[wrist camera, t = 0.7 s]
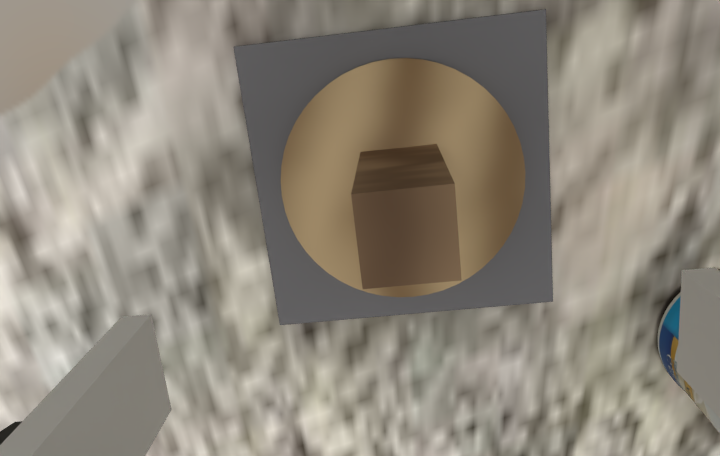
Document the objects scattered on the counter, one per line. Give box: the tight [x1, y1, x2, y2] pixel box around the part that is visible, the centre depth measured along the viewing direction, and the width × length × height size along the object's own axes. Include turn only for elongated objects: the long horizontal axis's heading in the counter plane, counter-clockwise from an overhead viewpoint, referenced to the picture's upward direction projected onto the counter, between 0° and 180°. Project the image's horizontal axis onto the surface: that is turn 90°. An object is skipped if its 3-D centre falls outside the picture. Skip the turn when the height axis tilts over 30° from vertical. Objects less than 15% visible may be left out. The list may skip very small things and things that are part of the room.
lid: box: [281, 58, 525, 297], centre depth 29 cm, size 13×13×10 cm
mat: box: [234, 9, 553, 325], centre depth 34 cm, size 16×16×1 cm
